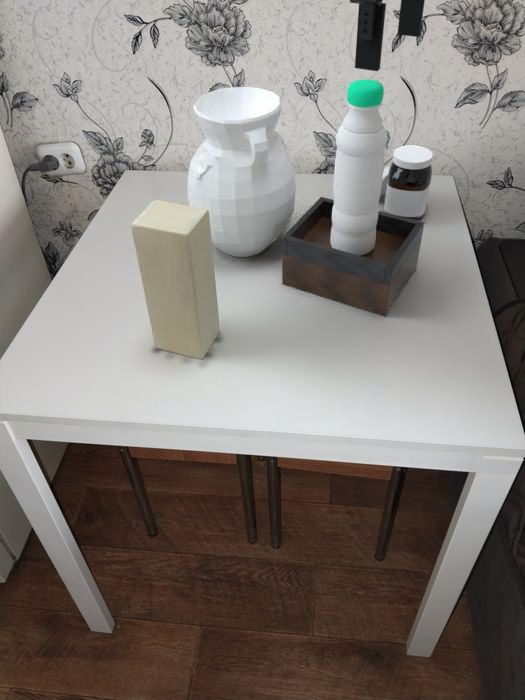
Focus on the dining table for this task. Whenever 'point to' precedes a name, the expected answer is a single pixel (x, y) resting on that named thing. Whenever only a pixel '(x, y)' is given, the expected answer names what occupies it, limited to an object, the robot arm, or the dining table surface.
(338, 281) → the open rectangular box
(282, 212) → the white vase
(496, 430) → the dining table surface
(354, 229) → the water bottle
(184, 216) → the beige rectangular block
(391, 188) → the spread jar
